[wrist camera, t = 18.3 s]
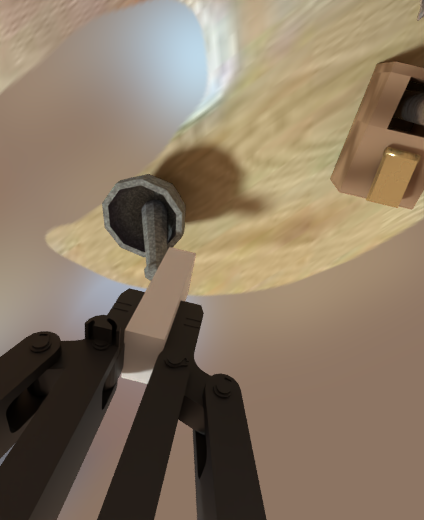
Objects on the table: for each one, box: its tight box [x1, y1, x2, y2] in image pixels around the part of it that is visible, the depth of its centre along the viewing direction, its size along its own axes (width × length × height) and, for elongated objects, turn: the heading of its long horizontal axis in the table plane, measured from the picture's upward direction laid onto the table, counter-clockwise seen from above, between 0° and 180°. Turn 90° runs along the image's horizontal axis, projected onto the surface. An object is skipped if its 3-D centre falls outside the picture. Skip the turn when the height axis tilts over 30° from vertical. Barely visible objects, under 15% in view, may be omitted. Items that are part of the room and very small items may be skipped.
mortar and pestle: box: [102, 174, 185, 281], centre depth 37 cm, size 11×9×12 cm
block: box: [330, 61, 424, 209], centre depth 32 cm, size 12×8×5 cm, turn 168°
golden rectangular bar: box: [366, 147, 421, 208], centre depth 31 cm, size 5×3×1 cm, turn 169°
